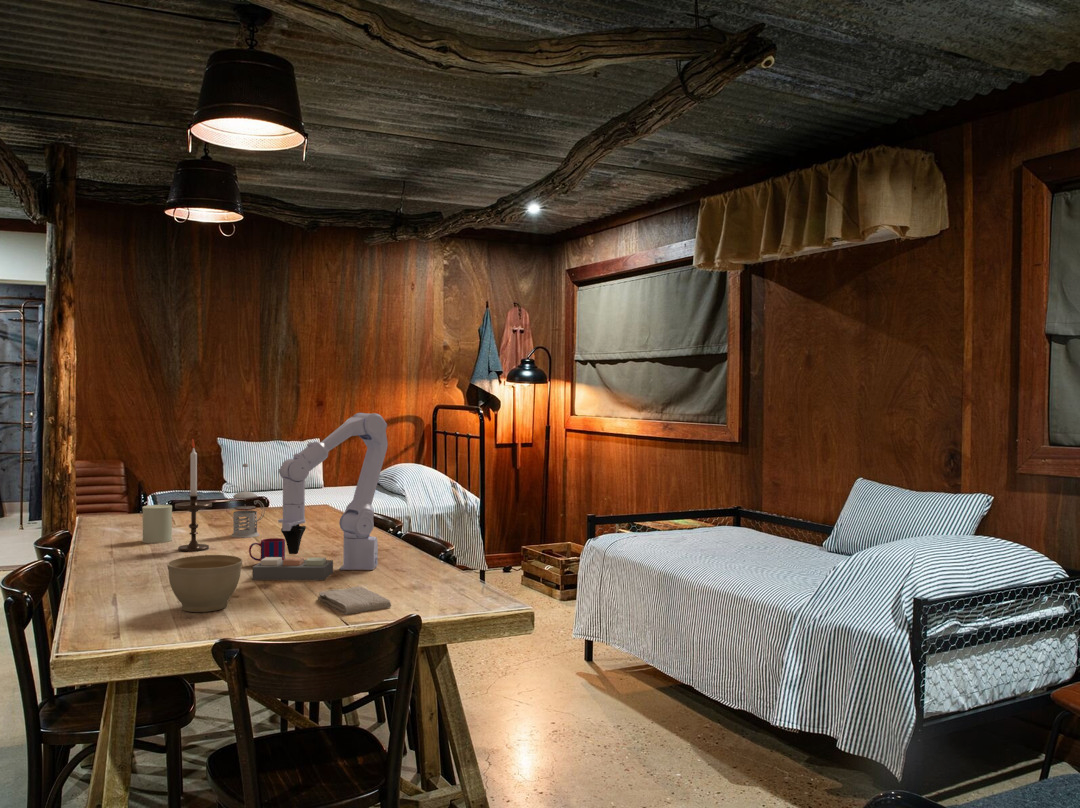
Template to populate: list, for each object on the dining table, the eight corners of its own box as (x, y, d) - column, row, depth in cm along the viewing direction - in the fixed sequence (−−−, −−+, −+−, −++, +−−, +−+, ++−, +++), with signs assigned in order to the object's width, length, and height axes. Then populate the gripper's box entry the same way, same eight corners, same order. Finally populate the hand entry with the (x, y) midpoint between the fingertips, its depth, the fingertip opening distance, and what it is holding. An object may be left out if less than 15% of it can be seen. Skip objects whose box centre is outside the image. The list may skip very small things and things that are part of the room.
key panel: (333, 572, 241) (333, 560, 241) (324, 580, 231) (324, 567, 231) (264, 572, 241) (264, 559, 241) (252, 579, 231) (252, 567, 231)
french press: (238, 532, 307) (238, 462, 307) (269, 533, 306) (270, 462, 305) (224, 537, 298) (224, 464, 297) (256, 538, 296) (257, 464, 296)
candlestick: (195, 553, 268) (195, 439, 267) (167, 551, 271) (167, 438, 271) (219, 547, 278) (219, 438, 278) (191, 545, 281) (191, 437, 281)
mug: (285, 564, 251) (285, 541, 251) (249, 567, 248) (249, 543, 248) (283, 560, 258) (283, 537, 257) (248, 562, 254) (248, 539, 254)
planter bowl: (167, 620, 190) (167, 570, 190) (167, 603, 205) (167, 557, 205) (245, 613, 196) (245, 564, 196) (239, 597, 211) (239, 552, 211)
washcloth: (359, 595, 216) (359, 583, 216) (393, 609, 202) (393, 596, 202) (313, 602, 209) (314, 589, 209) (345, 617, 195) (345, 603, 195)
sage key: (325, 565, 238) (325, 557, 238) (321, 568, 233) (321, 560, 233) (309, 565, 238) (309, 557, 238) (305, 568, 233) (305, 560, 233)
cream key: (281, 565, 238) (281, 557, 238) (277, 568, 233) (277, 560, 233) (265, 565, 238) (265, 557, 238) (260, 568, 233) (260, 560, 233)
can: (178, 540, 291) (178, 504, 291) (153, 544, 283) (153, 507, 283) (161, 537, 296) (161, 502, 296) (136, 541, 288) (136, 505, 288)
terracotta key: (303, 565, 238) (303, 557, 238) (299, 568, 233) (299, 560, 233) (287, 565, 238) (287, 557, 238) (283, 568, 233) (283, 560, 233)
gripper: (286, 500, 243) (286, 548, 243) (270, 506, 228) (270, 558, 228) (312, 500, 243) (311, 548, 243) (297, 507, 228) (297, 558, 228)
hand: (293, 553), depth 236 cm, fingers closed
